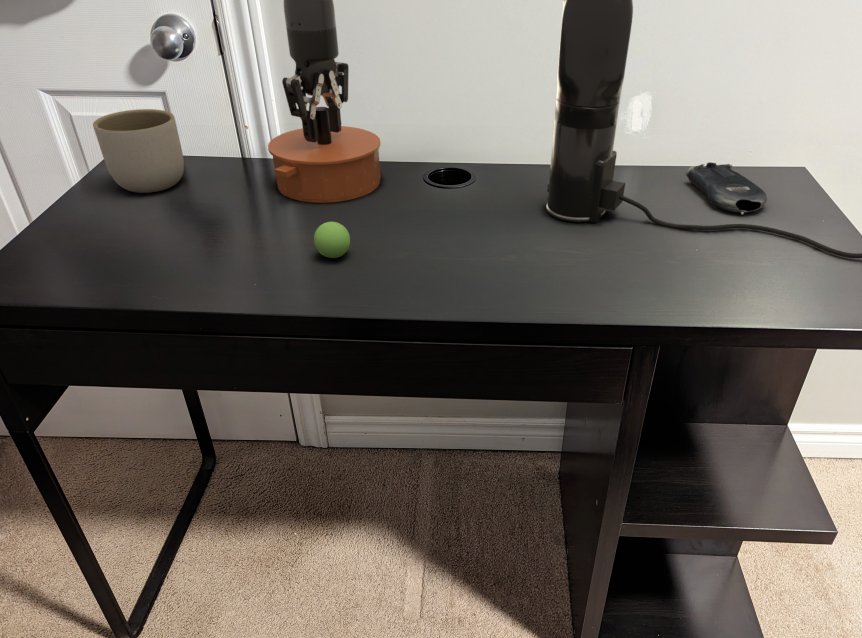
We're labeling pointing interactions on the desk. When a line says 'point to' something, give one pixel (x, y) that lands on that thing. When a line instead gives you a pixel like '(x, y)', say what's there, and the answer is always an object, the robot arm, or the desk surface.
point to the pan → (328, 179)
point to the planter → (141, 149)
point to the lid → (324, 144)
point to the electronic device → (727, 187)
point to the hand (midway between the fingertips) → (323, 135)
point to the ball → (332, 239)
